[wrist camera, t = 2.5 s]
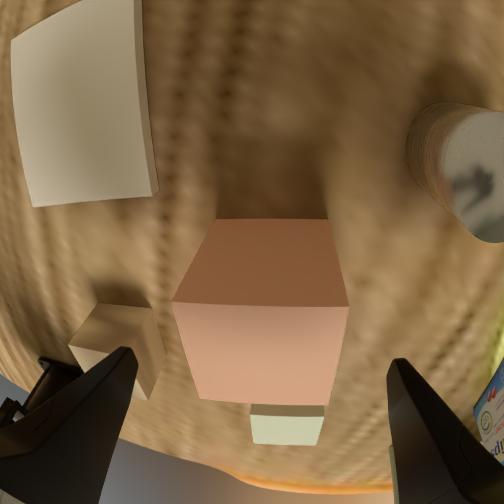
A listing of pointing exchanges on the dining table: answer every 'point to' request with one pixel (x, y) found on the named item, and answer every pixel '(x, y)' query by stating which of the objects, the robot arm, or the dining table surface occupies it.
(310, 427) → the sage block
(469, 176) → the grey metal cylinder
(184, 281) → the coral block
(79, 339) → the birch block
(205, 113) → the dining table surface
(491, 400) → the medicine box
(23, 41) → the grey mat
